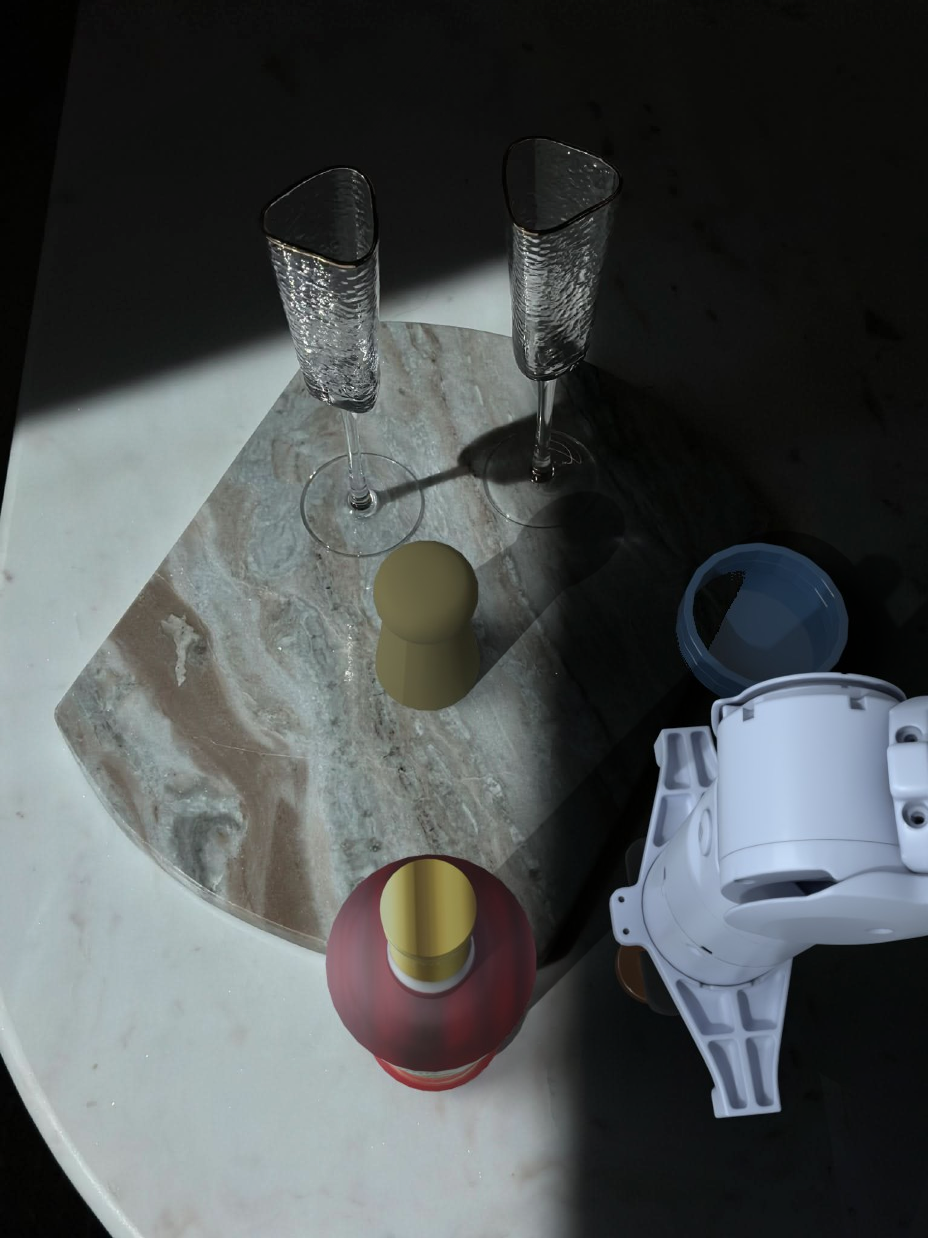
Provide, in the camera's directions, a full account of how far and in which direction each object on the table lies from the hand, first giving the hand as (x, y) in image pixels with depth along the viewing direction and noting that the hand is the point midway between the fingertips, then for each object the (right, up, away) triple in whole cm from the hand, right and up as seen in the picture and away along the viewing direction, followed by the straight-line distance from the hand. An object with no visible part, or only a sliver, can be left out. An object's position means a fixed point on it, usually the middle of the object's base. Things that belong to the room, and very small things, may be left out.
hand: (673, 947), depth 52 cm
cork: (-11, +12, +13) cm, 21 cm away
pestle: (0, -3, +5) cm, 6 cm away
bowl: (+7, +14, +14) cm, 21 cm away
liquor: (-11, -5, +5) cm, 13 cm away
